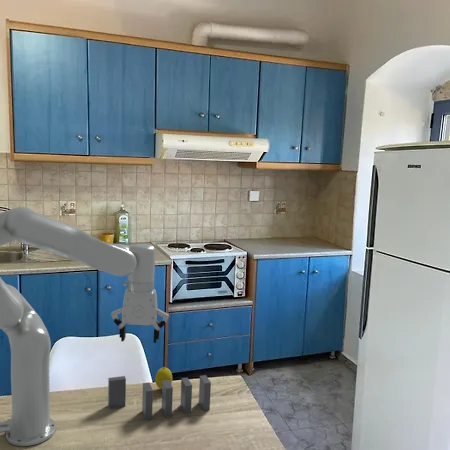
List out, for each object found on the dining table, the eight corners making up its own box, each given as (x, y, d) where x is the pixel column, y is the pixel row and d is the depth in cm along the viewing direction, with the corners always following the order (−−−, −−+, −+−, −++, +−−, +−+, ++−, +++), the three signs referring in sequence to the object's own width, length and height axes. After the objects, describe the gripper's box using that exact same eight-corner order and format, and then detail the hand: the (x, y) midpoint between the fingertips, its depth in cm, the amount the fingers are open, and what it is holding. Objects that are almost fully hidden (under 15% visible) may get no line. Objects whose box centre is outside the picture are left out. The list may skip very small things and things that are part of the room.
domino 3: (165, 416, 136) (166, 388, 135) (161, 408, 141) (162, 380, 139) (171, 415, 137) (172, 387, 135) (167, 407, 141) (168, 379, 140)
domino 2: (145, 419, 134) (146, 391, 133) (142, 410, 139) (142, 383, 137) (152, 418, 135) (152, 390, 133) (148, 409, 139) (149, 382, 138)
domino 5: (203, 410, 140) (204, 383, 139) (198, 402, 145) (199, 375, 144) (209, 409, 141) (210, 382, 140) (204, 401, 146) (205, 375, 144)
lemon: (168, 395, 148) (169, 372, 147) (152, 392, 149) (153, 369, 148) (174, 387, 154) (174, 364, 152) (158, 384, 155) (159, 362, 153)
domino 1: (125, 406, 141) (125, 378, 139) (108, 408, 139) (109, 381, 138) (124, 402, 143) (124, 375, 141) (108, 405, 141) (108, 377, 139)
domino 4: (184, 413, 138) (185, 386, 137) (180, 405, 143) (181, 378, 141) (191, 412, 139) (192, 385, 138) (186, 404, 143) (187, 377, 142)
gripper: (109, 287, 131) (107, 344, 134) (169, 290, 132) (166, 346, 134) (114, 280, 139) (113, 334, 141) (171, 283, 139) (169, 337, 142)
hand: (139, 340), depth 138 cm, fingers open, 9 cm apart
